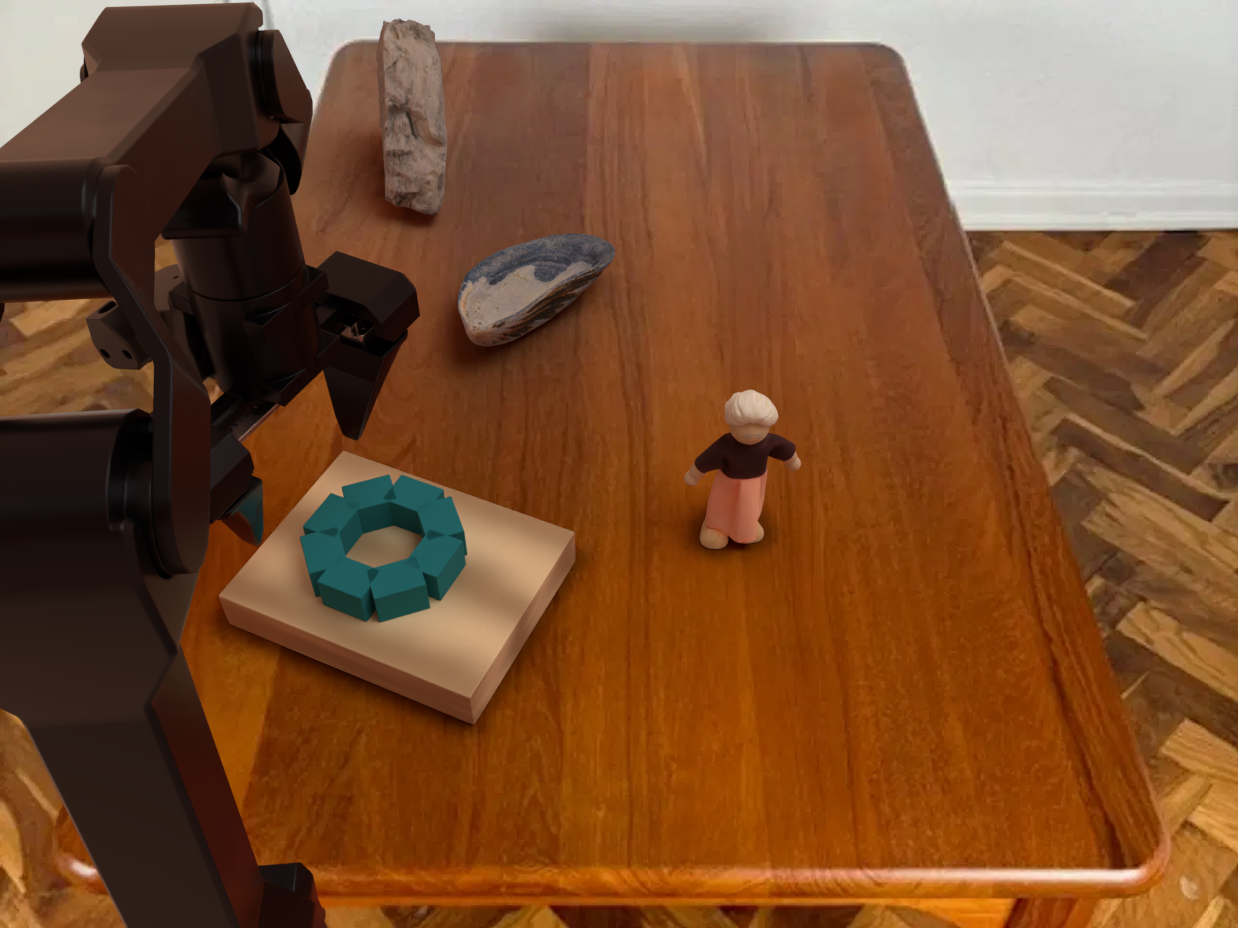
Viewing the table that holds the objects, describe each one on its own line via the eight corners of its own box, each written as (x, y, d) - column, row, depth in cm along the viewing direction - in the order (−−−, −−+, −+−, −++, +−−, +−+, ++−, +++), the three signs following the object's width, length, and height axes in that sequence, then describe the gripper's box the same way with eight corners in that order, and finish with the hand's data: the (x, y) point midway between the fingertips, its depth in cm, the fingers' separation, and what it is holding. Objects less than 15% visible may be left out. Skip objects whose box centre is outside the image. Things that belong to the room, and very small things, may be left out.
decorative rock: (382, 136, 117) (358, -13, 106) (450, 131, 118) (433, -18, 107) (383, 233, 106) (356, 77, 95) (458, 227, 107) (440, 72, 96)
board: (474, 725, 72) (470, 698, 69) (228, 624, 77) (217, 595, 75) (576, 560, 80) (575, 531, 78) (349, 479, 86) (343, 449, 83)
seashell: (617, 378, 93) (617, 328, 89) (456, 379, 93) (450, 329, 89) (614, 259, 104) (614, 210, 100) (469, 260, 103) (464, 211, 100)
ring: (413, 641, 72) (408, 617, 70) (278, 587, 75) (270, 563, 73) (491, 529, 78) (488, 504, 77) (364, 483, 81) (358, 459, 79)
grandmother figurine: (698, 566, 80) (709, 432, 71) (675, 526, 82) (683, 391, 73) (800, 535, 82) (824, 400, 73) (775, 496, 84) (795, 361, 75)
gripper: (238, 133, 65) (293, 350, 77) (-33, 325, 54) (78, 549, 65) (407, 184, 62) (439, 405, 73) (156, 403, 50) (240, 625, 62)
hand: (304, 487), depth 68 cm, fingers open, 9 cm apart
